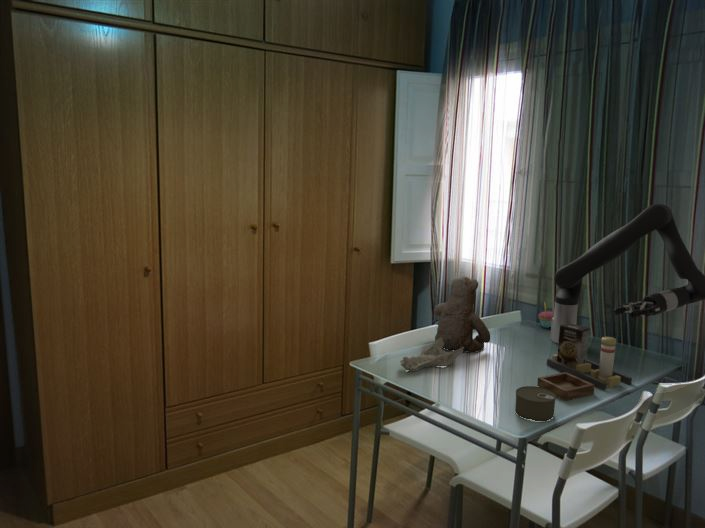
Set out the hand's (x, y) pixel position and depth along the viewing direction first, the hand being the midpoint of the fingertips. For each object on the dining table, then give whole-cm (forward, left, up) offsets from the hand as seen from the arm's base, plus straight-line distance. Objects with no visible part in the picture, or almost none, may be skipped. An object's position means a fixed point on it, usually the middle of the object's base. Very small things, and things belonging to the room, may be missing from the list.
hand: (622, 313), depth 218 cm
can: (+13, -51, -24) cm, 58 cm away
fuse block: (-6, -9, -23) cm, 26 cm away
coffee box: (-13, -9, -24) cm, 29 cm away
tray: (+3, -28, -23) cm, 37 cm away
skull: (-36, -58, -24) cm, 72 cm away
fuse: (+3, -9, -23) cm, 25 cm away
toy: (-50, -34, -24) cm, 65 cm away
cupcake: (-57, +21, -24) cm, 65 cm away
